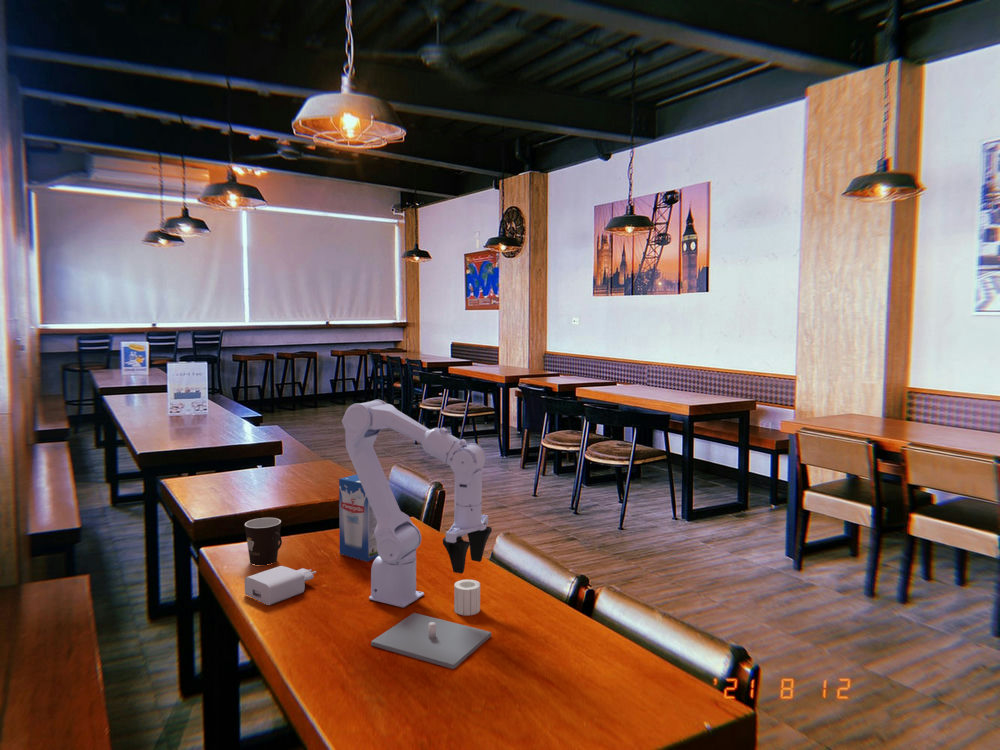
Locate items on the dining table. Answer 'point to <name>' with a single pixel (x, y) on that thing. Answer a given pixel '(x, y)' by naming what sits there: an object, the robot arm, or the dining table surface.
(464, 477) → the robot arm
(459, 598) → the paper roll
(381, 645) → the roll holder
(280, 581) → the charger
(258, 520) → the coffee mug
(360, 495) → the milk carton
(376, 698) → the dining table surface
